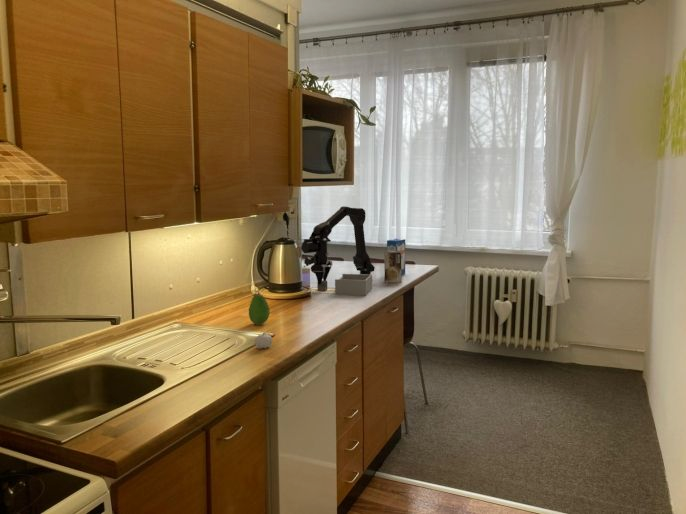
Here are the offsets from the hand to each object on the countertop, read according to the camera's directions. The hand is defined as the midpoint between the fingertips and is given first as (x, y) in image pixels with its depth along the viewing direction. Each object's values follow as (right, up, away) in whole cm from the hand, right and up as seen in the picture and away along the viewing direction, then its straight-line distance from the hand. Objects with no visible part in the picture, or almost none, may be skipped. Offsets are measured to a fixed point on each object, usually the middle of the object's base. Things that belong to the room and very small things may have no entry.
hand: (322, 282), depth 277 cm
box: (+16, -4, -3) cm, 16 cm away
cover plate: (0, -5, +1) cm, 5 cm away
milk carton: (+41, +2, +41) cm, 58 cm away
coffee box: (+37, -1, +22) cm, 43 cm away
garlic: (-16, -18, -91) cm, 94 cm away
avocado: (-22, -13, -61) cm, 66 cm away
